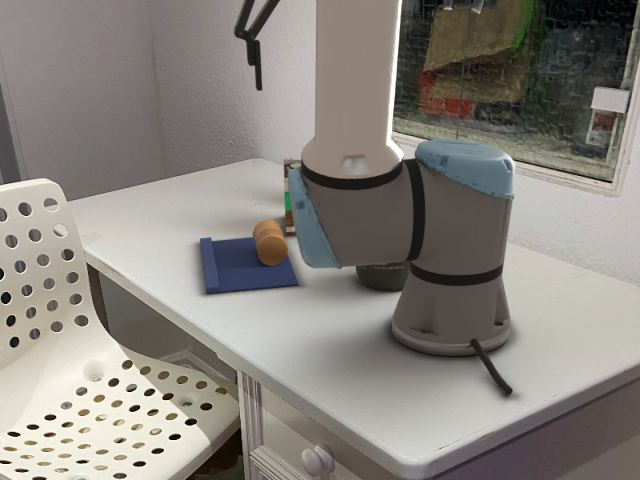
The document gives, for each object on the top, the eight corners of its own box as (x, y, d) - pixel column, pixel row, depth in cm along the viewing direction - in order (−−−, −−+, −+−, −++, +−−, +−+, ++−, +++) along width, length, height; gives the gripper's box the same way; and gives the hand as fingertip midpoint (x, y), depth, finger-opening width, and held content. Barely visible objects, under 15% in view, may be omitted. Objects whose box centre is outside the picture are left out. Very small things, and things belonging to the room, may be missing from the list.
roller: (287, 265, 130) (287, 235, 127) (257, 267, 130) (257, 237, 127) (281, 247, 136) (281, 218, 133) (253, 249, 136) (252, 220, 133)
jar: (424, 268, 126) (428, 218, 121) (417, 294, 119) (420, 242, 114) (360, 265, 129) (361, 216, 124) (349, 291, 121) (349, 239, 116)
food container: (321, 237, 139) (321, 177, 133) (285, 239, 140) (283, 179, 134) (318, 214, 149) (318, 156, 143) (285, 215, 150) (283, 158, 143)
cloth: (298, 285, 124) (298, 279, 123) (207, 294, 123) (206, 288, 123) (280, 236, 141) (280, 230, 141) (200, 243, 141) (199, 238, 140)
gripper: (380, -90, 118) (376, 74, 130) (208, -77, 116) (221, 87, 129) (392, -90, 112) (386, 83, 124) (211, -76, 110) (224, 96, 123)
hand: (302, 85), depth 127 cm, fingers open, 13 cm apart
